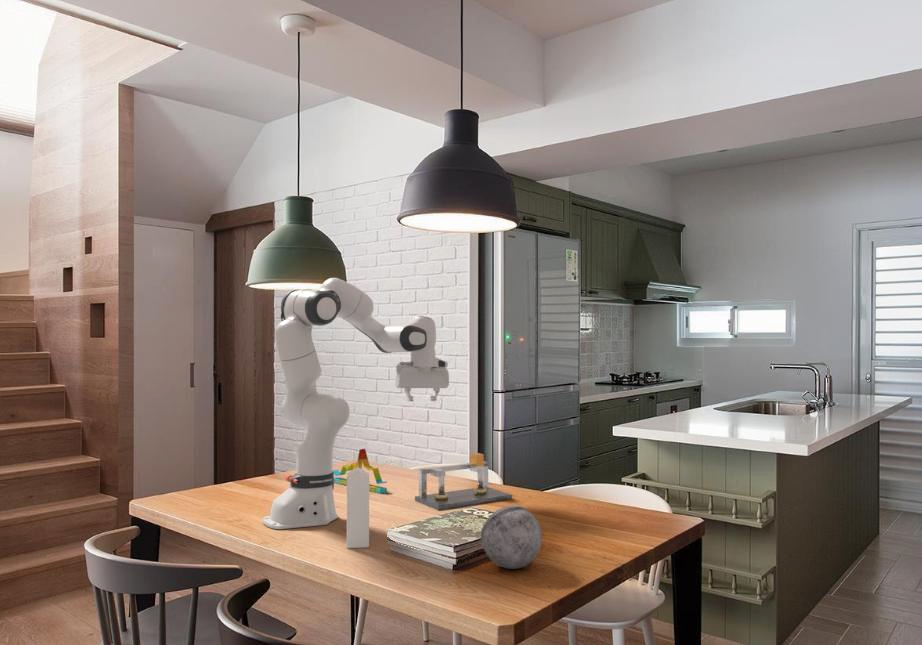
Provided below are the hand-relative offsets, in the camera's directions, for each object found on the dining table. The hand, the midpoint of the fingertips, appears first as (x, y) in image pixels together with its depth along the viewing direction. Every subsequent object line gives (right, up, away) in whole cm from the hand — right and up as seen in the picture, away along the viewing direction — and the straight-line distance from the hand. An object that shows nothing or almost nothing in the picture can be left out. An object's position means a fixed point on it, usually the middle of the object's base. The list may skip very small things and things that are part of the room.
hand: (421, 401), depth 245 cm
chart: (-25, -35, +17) cm, 47 cm away
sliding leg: (+20, -31, +2) cm, 37 cm away
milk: (-14, -33, -57) cm, 67 cm away
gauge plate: (+15, -34, -4) cm, 37 cm away
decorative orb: (+26, -32, -76) cm, 87 cm away
